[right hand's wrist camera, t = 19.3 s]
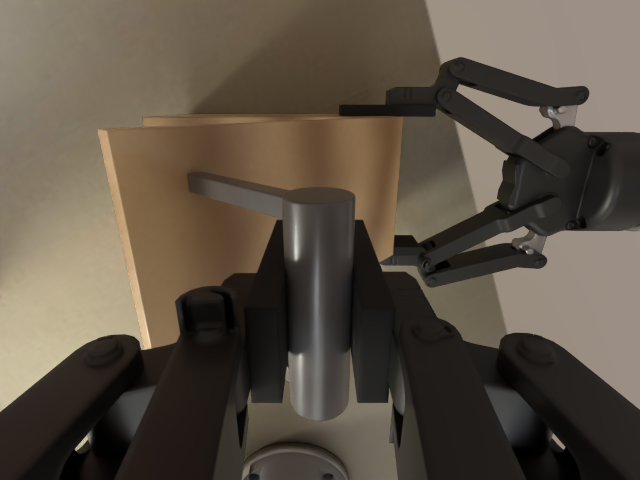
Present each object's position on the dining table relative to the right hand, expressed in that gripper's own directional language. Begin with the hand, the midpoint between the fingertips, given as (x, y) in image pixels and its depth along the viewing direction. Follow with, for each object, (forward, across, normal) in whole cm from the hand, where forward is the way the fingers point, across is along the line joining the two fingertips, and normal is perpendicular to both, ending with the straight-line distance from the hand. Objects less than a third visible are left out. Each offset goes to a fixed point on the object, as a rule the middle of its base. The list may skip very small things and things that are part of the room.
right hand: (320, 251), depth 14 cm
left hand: (+14, -1, 0) cm, 14 cm away
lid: (+5, +1, 0) cm, 5 cm away
